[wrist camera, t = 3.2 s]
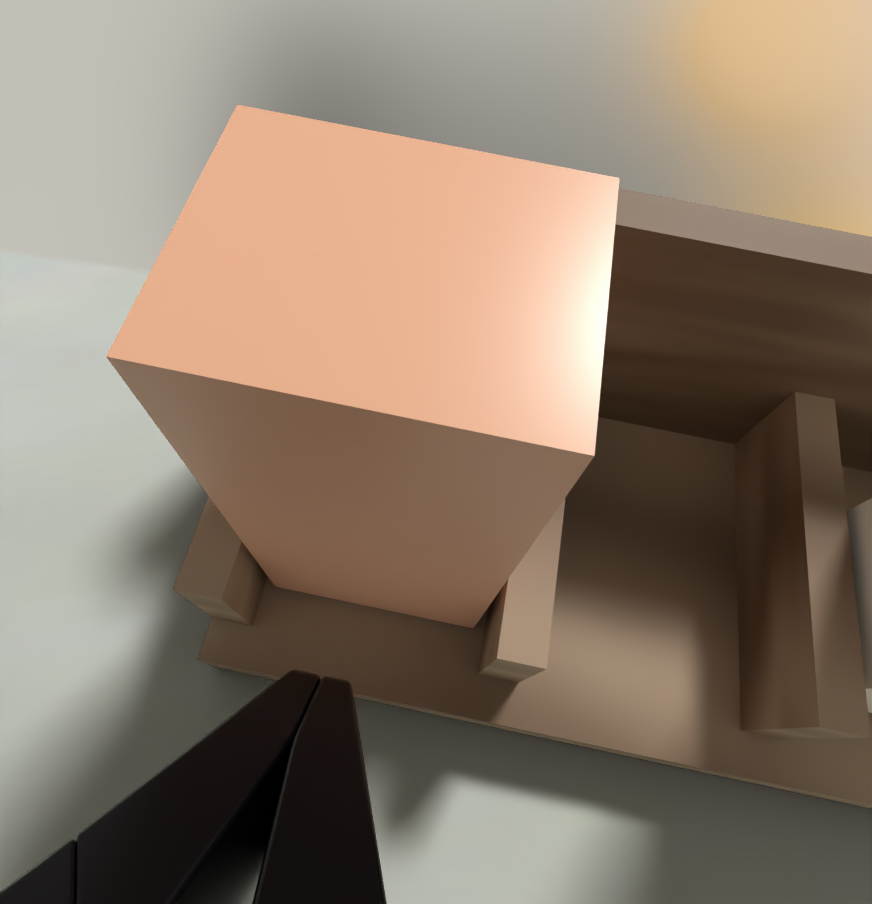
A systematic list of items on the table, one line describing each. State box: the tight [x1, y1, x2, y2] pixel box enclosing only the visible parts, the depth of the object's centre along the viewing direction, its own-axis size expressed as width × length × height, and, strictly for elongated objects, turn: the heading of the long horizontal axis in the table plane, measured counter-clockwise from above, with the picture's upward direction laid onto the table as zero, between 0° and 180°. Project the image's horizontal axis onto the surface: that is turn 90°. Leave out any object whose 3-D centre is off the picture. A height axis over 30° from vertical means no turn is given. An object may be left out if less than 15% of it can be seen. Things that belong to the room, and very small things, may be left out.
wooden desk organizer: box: [173, 188, 872, 809], centre depth 14 cm, size 10×21×8 cm, turn 79°
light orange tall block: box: [106, 105, 619, 628], centre depth 12 cm, size 4×5×10 cm
